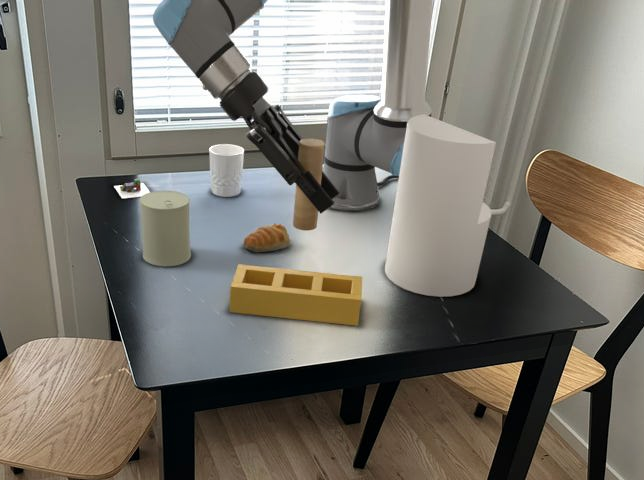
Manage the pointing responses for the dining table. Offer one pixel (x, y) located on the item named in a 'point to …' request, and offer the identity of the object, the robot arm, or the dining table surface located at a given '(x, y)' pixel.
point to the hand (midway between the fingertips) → (330, 202)
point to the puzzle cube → (132, 189)
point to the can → (165, 228)
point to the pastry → (267, 239)
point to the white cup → (226, 169)
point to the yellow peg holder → (296, 294)
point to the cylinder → (439, 209)
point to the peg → (313, 162)
